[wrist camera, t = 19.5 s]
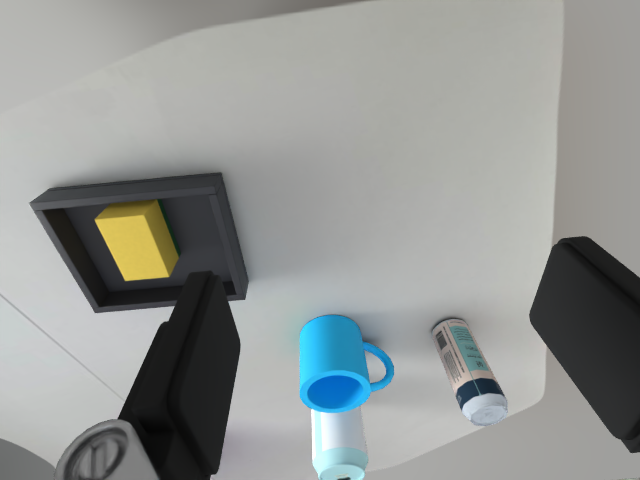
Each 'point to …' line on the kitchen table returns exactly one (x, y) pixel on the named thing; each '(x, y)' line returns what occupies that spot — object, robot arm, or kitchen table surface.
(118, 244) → the sponge
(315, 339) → the mug
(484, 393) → the beer can
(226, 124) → the kitchen table surface
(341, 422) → the can
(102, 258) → the tray
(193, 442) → the robot arm
